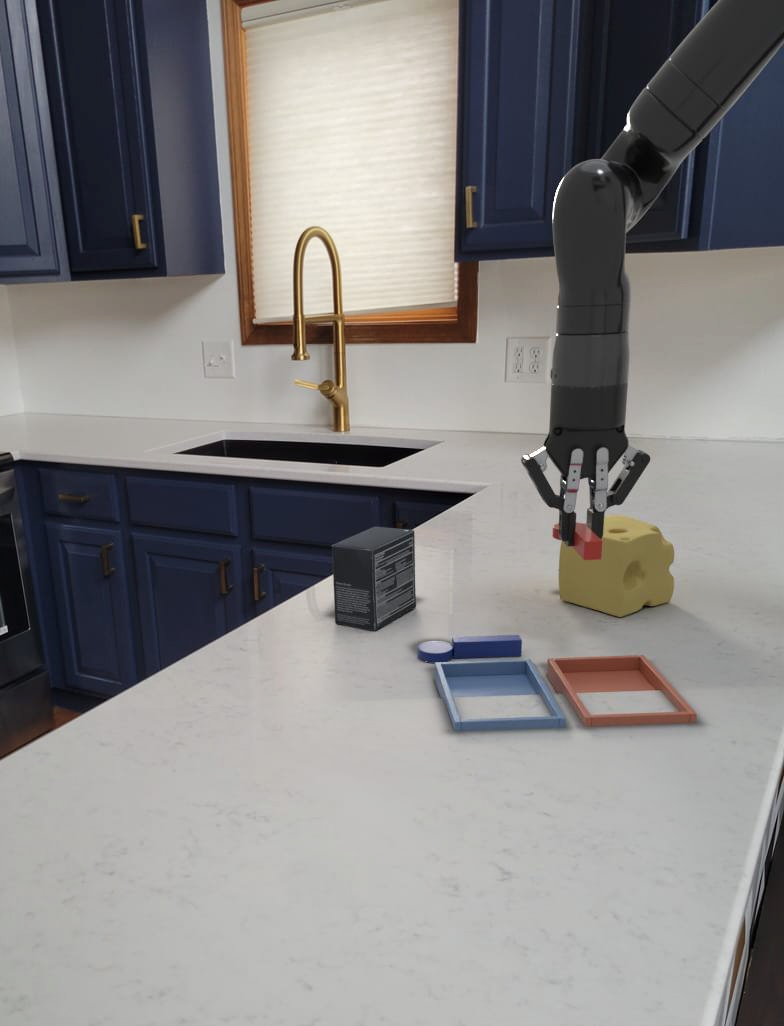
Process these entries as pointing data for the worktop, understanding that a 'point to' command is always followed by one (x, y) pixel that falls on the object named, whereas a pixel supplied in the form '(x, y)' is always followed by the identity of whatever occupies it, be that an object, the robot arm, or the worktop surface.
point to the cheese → (620, 569)
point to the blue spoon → (471, 648)
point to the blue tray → (495, 691)
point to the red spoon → (584, 542)
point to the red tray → (615, 687)
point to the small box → (374, 577)
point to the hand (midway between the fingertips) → (580, 543)
